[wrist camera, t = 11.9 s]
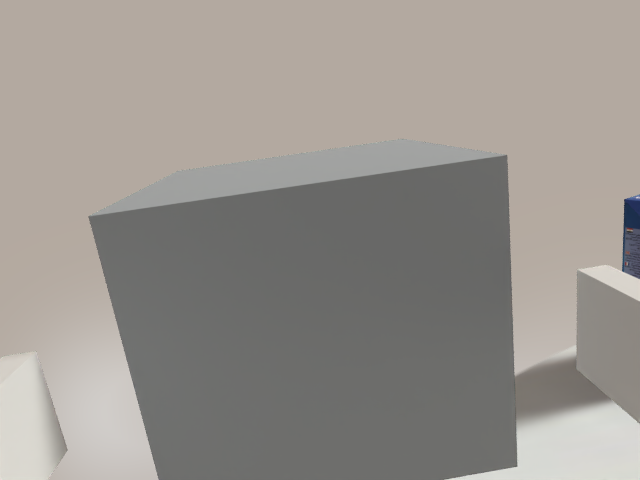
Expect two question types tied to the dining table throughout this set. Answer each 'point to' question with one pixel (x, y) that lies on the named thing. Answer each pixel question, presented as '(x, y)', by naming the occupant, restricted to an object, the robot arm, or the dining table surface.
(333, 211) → the grey matte cube
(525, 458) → the dining table surface
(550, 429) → the dining table surface
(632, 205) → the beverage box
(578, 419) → the dining table surface
